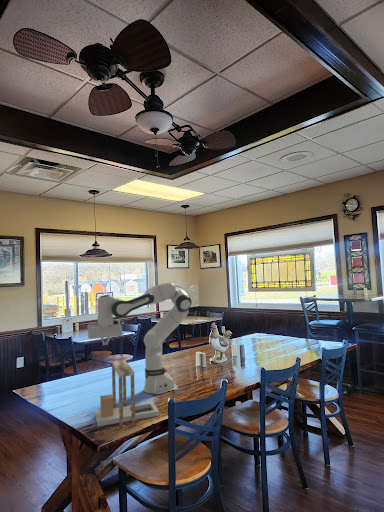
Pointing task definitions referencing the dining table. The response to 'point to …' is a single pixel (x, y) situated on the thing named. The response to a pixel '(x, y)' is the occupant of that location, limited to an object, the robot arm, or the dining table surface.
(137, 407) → the tray
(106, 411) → the block
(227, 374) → the dining table surface
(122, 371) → the arch
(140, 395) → the dining table surface
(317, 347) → the dining table surface
